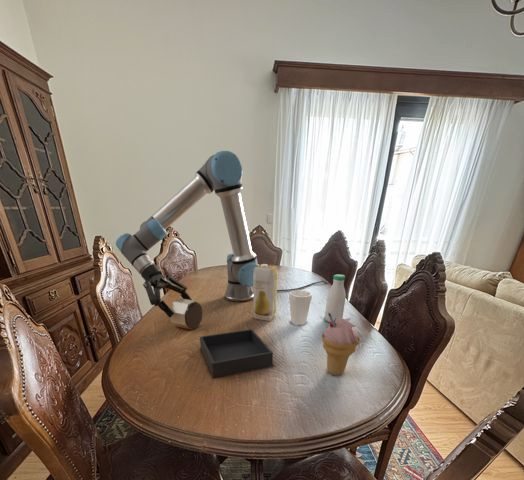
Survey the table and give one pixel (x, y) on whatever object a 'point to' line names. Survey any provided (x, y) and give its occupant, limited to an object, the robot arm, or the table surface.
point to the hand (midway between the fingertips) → (182, 310)
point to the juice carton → (264, 292)
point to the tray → (235, 352)
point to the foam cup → (299, 306)
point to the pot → (186, 313)
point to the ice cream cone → (339, 344)
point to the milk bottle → (336, 299)
